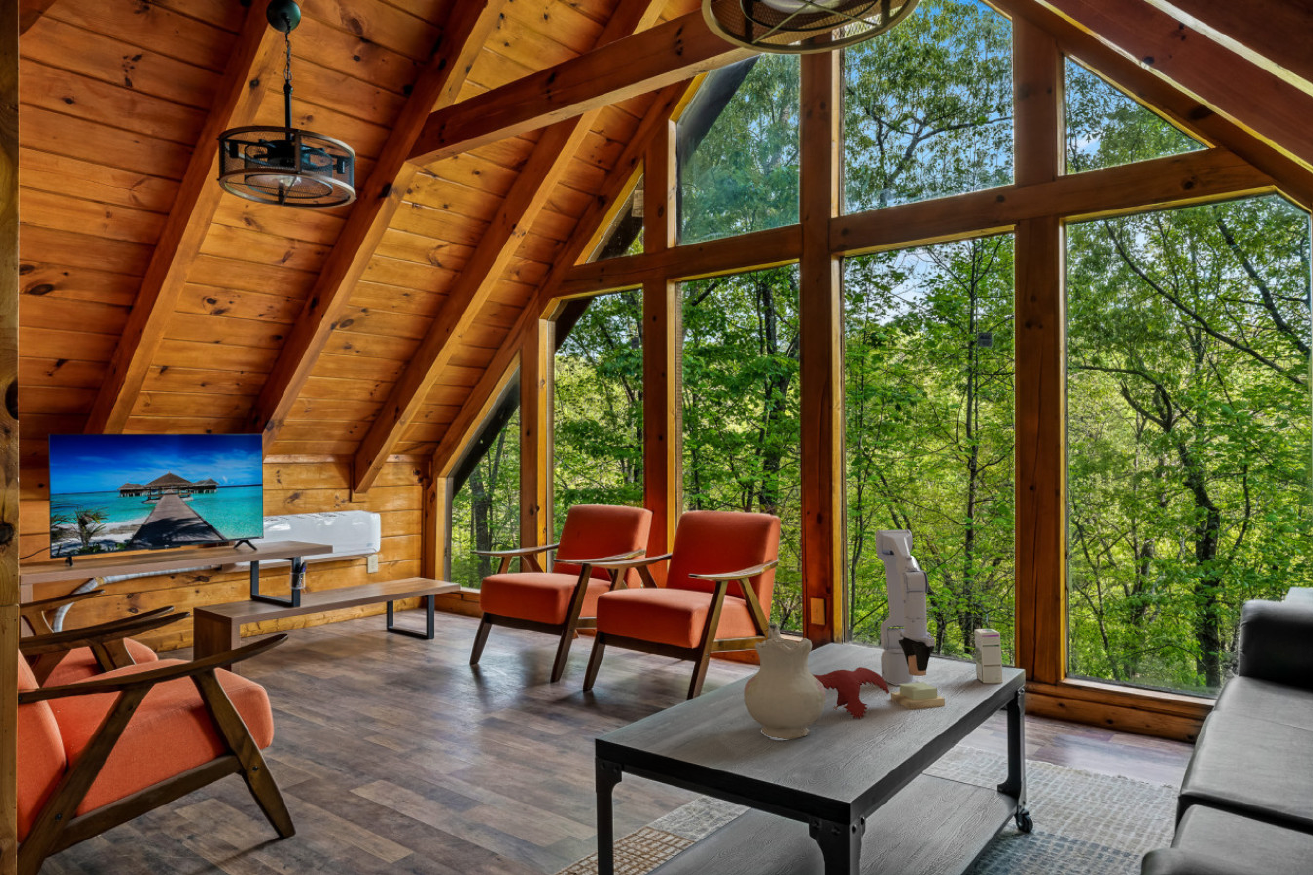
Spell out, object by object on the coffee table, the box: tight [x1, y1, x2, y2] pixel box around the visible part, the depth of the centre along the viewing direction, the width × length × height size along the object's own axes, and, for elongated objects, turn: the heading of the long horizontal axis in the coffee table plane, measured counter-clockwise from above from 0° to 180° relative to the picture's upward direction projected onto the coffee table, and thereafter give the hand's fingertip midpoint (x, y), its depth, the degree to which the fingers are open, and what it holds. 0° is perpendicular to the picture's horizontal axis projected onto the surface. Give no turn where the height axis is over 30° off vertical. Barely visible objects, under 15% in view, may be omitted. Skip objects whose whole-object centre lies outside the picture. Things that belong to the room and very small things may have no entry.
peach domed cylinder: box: [908, 655, 927, 677], centre depth 230 cm, size 4×4×4 cm
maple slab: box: [890, 691, 946, 710], centre depth 229 cm, size 10×10×2 cm
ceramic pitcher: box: [743, 622, 826, 740], centre depth 209 cm, size 22×20×25 cm
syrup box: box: [974, 628, 1003, 684], centre depth 249 cm, size 6×6×14 cm
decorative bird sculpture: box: [811, 666, 890, 720], centre depth 222 cm, size 28×9×15 cm
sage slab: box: [899, 681, 938, 700], centre depth 229 cm, size 7×7×2 cm
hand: (917, 668), depth 230 cm, fingers closed on peach domed cylinder, 4 cm apart
